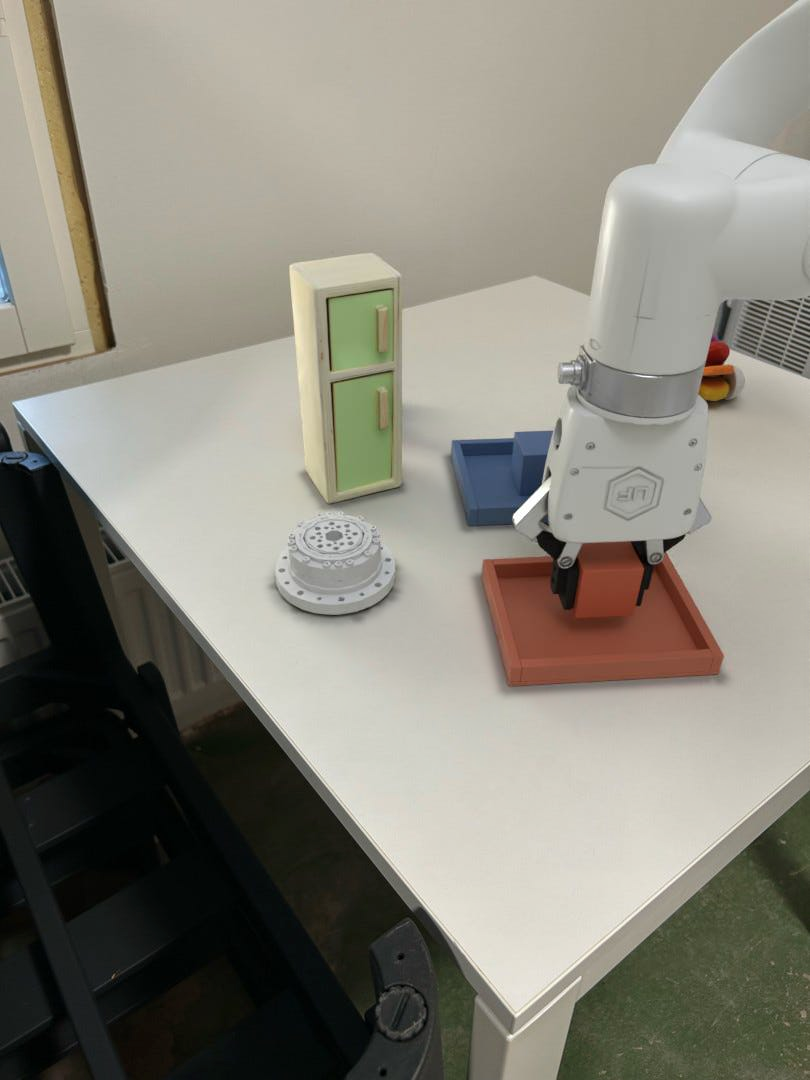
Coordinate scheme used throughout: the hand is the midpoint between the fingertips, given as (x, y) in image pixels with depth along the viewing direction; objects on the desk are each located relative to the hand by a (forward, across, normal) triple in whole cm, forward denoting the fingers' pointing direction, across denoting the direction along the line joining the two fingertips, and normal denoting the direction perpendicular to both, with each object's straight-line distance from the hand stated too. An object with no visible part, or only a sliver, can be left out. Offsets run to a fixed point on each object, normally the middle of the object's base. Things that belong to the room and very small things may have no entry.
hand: (597, 594), depth 63 cm
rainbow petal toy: (+3, +23, +39) cm, 45 cm away
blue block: (+2, 0, +20) cm, 20 cm away
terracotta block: (0, 0, 0) cm, 0 cm away
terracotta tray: (+3, 0, 0) cm, 3 cm away
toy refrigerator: (+3, -18, +22) cm, 29 cm away
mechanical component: (+3, -20, +7) cm, 21 cm away
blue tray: (+3, 0, +20) cm, 20 cm away
